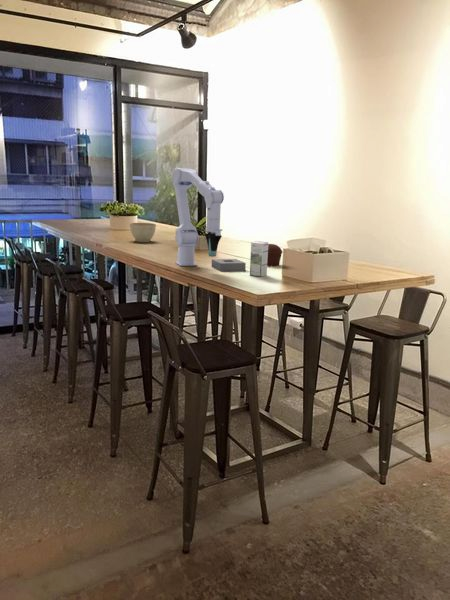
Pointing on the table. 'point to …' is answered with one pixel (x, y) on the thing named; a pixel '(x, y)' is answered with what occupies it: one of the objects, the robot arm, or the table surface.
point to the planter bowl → (142, 231)
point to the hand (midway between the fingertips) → (212, 250)
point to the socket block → (228, 265)
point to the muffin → (273, 255)
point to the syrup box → (258, 258)
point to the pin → (211, 253)
